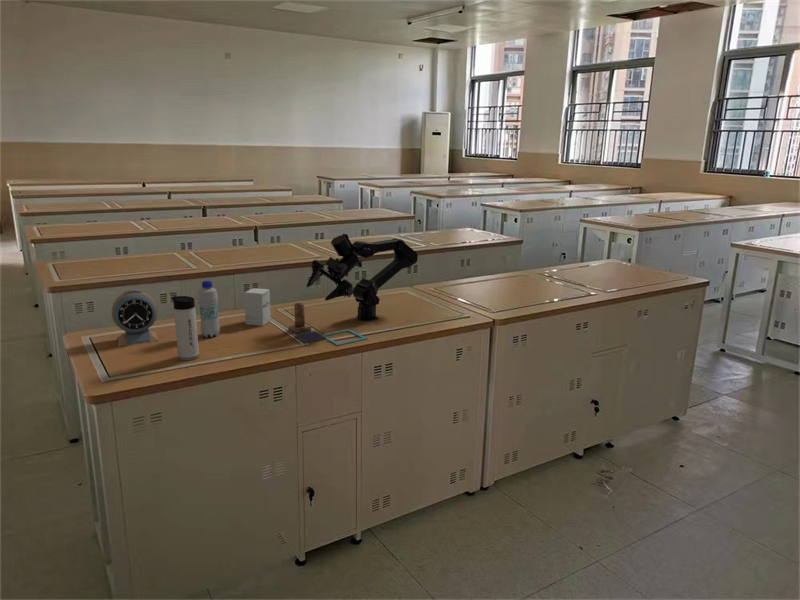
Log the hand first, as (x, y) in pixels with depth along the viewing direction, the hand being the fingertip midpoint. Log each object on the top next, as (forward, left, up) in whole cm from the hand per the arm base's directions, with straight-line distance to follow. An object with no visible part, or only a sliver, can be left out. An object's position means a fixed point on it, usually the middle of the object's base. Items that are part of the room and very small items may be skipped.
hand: (316, 293), depth 205 cm
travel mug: (+47, +1, -15) cm, 49 cm away
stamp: (+5, -4, -14) cm, 16 cm away
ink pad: (+6, +6, -14) cm, 17 cm away
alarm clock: (+56, -26, -15) cm, 63 cm away
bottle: (+34, -16, -15) cm, 40 cm away
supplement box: (+14, -21, -15) cm, 29 cm away
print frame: (-4, +12, -14) cm, 19 cm away
